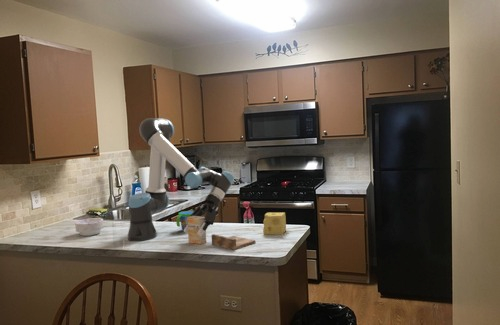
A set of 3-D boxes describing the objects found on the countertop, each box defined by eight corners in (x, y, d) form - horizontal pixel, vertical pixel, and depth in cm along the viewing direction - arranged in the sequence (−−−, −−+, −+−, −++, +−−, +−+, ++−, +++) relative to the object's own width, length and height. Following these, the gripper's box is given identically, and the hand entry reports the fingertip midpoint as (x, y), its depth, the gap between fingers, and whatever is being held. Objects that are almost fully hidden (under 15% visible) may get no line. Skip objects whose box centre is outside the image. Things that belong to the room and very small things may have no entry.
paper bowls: (94, 237, 223) (93, 223, 223) (70, 237, 226) (69, 223, 226) (109, 230, 238) (108, 217, 238) (86, 230, 241) (85, 217, 241)
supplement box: (188, 243, 200) (186, 217, 199) (194, 240, 204) (192, 215, 203) (200, 244, 195) (199, 218, 194) (207, 242, 199) (205, 216, 198)
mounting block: (212, 244, 194) (211, 234, 194) (233, 238, 204) (232, 229, 204) (234, 249, 183) (233, 239, 183) (255, 242, 193) (254, 233, 192)
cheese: (263, 234, 208) (262, 215, 207) (268, 229, 218) (267, 211, 218) (282, 235, 205) (281, 216, 204) (287, 230, 215) (286, 211, 215)
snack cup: (194, 226, 238) (193, 209, 237) (205, 228, 230) (204, 210, 230) (172, 231, 227) (170, 213, 226) (182, 234, 219) (181, 215, 219)
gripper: (233, 203, 201) (211, 241, 191) (205, 200, 217) (183, 234, 207) (225, 194, 197) (201, 232, 187) (197, 192, 213) (174, 226, 203)
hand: (192, 233), depth 197 cm, fingers open, 10 cm apart
